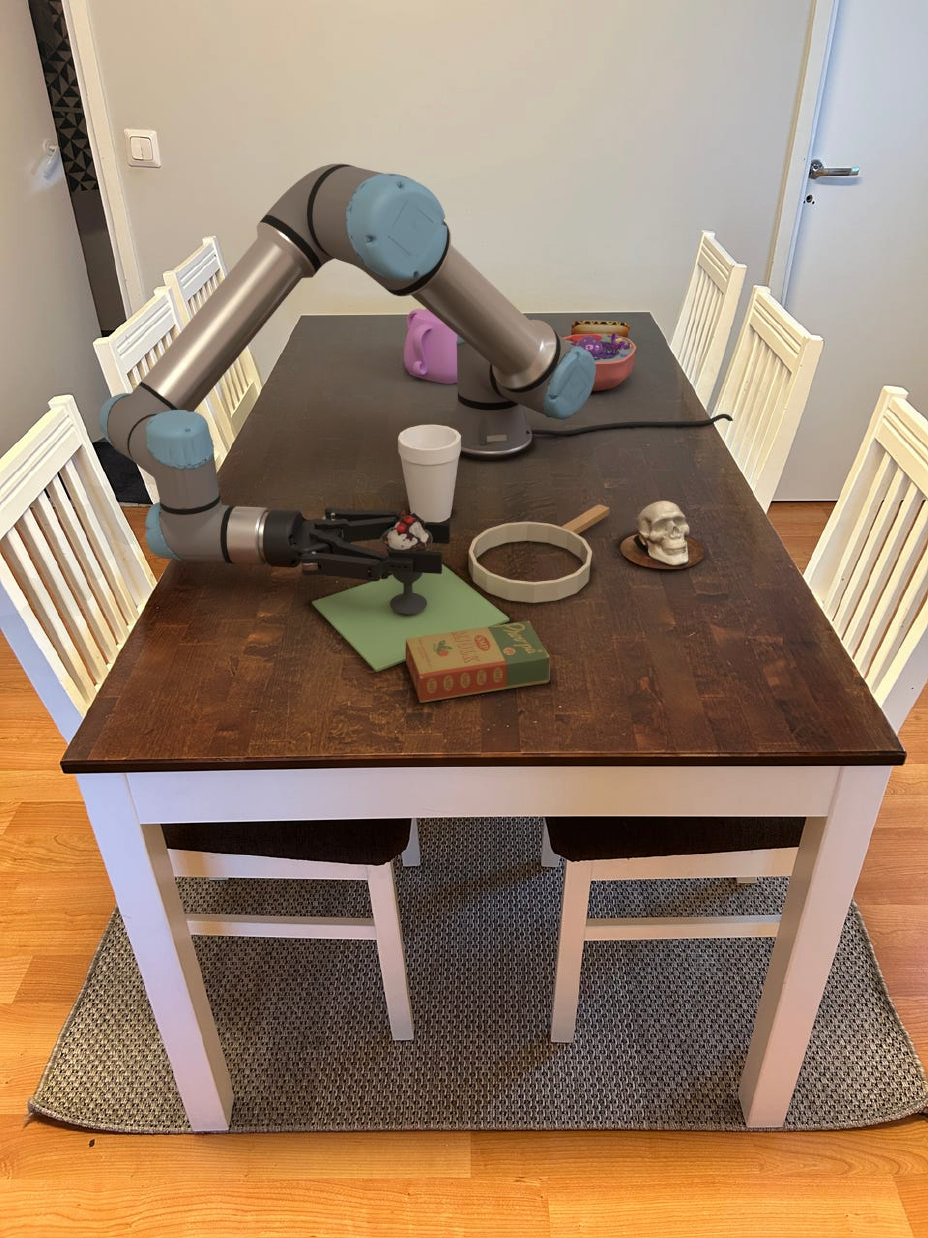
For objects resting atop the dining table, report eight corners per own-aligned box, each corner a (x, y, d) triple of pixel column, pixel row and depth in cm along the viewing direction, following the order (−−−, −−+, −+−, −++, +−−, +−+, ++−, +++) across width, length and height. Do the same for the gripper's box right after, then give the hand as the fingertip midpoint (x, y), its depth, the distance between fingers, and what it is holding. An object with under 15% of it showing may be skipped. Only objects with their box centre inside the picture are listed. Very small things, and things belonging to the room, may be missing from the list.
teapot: (404, 355, 208) (401, 290, 200) (496, 353, 209) (498, 288, 201) (405, 387, 192) (402, 317, 184) (505, 384, 193) (507, 315, 185)
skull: (724, 561, 133) (687, 520, 127) (667, 607, 136) (628, 568, 130) (692, 519, 142) (655, 479, 136) (639, 562, 145) (601, 525, 139)
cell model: (648, 379, 196) (654, 325, 189) (608, 410, 182) (613, 353, 176) (576, 364, 203) (580, 312, 197) (532, 393, 189) (534, 337, 183)
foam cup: (391, 521, 145) (388, 444, 137) (414, 496, 152) (412, 421, 144) (448, 532, 142) (448, 453, 135) (469, 505, 149) (469, 429, 142)
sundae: (396, 623, 120) (391, 521, 111) (375, 597, 125) (369, 498, 116) (442, 610, 122) (441, 509, 114) (420, 585, 127) (417, 487, 118)
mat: (437, 561, 135) (437, 559, 135) (509, 620, 123) (509, 618, 122) (312, 604, 126) (311, 601, 126) (376, 672, 113) (376, 669, 113)
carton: (405, 664, 115) (404, 635, 112) (529, 644, 118) (530, 616, 116) (420, 705, 108) (419, 676, 106) (550, 683, 112) (552, 655, 109)
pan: (587, 512, 147) (589, 495, 146) (663, 559, 135) (666, 541, 134) (446, 560, 135) (446, 542, 134) (516, 616, 123) (517, 597, 122)
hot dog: (628, 348, 212) (631, 326, 210) (570, 346, 213) (571, 324, 211) (627, 341, 216) (630, 319, 214) (570, 339, 218) (571, 317, 215)
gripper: (292, 525, 130) (455, 535, 128) (249, 603, 114) (435, 615, 112) (286, 477, 126) (455, 486, 124) (241, 550, 110) (434, 562, 108)
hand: (445, 547), depth 118 cm, fingers closed on sundae, 7 cm apart
